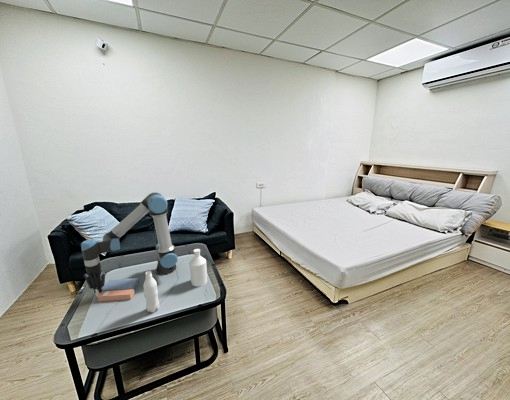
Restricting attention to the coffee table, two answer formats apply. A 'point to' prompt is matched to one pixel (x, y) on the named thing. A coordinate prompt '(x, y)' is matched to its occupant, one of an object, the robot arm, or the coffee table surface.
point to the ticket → (120, 284)
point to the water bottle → (151, 293)
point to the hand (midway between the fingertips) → (99, 296)
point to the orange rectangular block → (116, 295)
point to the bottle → (198, 269)
